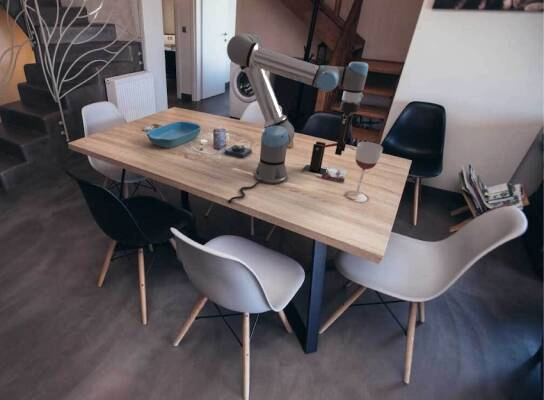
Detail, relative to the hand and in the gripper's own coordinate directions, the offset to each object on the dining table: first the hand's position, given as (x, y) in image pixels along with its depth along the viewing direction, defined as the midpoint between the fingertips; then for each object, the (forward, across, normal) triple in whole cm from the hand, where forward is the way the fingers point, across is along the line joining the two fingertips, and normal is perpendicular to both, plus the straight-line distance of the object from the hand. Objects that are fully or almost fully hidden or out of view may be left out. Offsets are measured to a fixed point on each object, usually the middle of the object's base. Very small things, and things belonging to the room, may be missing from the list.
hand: (339, 152), depth 143 cm
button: (+9, 0, +54) cm, 55 cm away
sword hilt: (+13, +28, +39) cm, 50 cm away
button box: (+13, 0, +54) cm, 55 cm away
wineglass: (+13, -15, -13) cm, 24 cm away
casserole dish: (+13, -3, +97) cm, 98 cm away
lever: (-1, 0, +4) cm, 5 cm away
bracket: (+13, 0, +10) cm, 16 cm away
